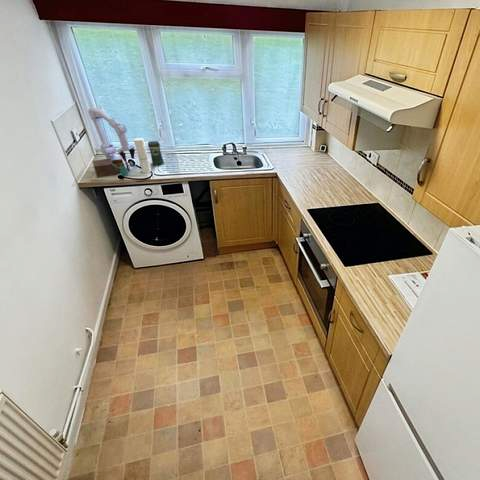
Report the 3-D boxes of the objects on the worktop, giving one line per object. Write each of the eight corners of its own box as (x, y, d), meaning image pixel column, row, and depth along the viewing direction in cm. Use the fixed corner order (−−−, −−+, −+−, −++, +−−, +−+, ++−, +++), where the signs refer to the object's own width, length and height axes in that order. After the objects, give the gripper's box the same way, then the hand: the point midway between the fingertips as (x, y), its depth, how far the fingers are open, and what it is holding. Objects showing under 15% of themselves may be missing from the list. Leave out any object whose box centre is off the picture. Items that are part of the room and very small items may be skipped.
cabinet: (114, 168, 247) (111, 158, 242) (116, 174, 238) (112, 163, 232) (96, 171, 242) (92, 160, 237) (97, 177, 232) (93, 166, 227)
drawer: (132, 165, 252) (130, 157, 248) (135, 170, 243) (132, 162, 239) (111, 168, 246) (108, 160, 241) (113, 173, 237) (110, 165, 232)
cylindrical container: (152, 169, 248) (144, 138, 232) (149, 172, 242) (141, 140, 227) (144, 169, 248) (135, 137, 232) (140, 172, 242) (132, 140, 227)
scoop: (127, 173, 240) (123, 161, 234) (128, 175, 237) (124, 163, 231) (115, 175, 236) (111, 163, 230) (116, 177, 233) (112, 165, 227)
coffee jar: (163, 161, 264) (159, 139, 252) (164, 164, 258) (159, 142, 246) (152, 162, 261) (147, 140, 250) (152, 165, 255) (147, 143, 244)
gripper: (120, 145, 223) (125, 163, 232) (135, 140, 233) (139, 158, 242) (113, 143, 226) (119, 161, 234) (129, 139, 236) (133, 156, 244)
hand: (129, 159), depth 238 cm, fingers open, 7 cm apart
